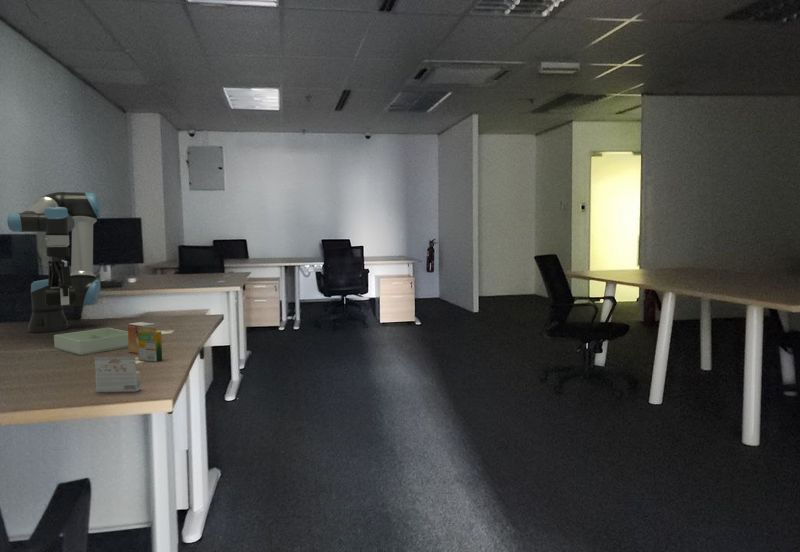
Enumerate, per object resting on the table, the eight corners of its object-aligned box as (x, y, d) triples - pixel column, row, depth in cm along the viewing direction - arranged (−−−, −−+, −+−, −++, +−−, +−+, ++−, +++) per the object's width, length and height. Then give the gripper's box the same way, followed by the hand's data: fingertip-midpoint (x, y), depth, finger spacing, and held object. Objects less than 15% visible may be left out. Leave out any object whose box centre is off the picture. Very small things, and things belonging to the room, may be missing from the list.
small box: (128, 352, 190) (127, 323, 189) (142, 349, 194) (141, 321, 194) (142, 354, 186) (141, 325, 185) (156, 351, 191) (155, 323, 190)
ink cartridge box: (100, 389, 143) (98, 354, 142) (141, 389, 143) (140, 354, 142) (95, 392, 140) (93, 356, 139) (137, 392, 140) (135, 356, 140)
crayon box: (162, 359, 178) (161, 326, 177) (156, 361, 175) (155, 327, 174) (144, 358, 180) (143, 325, 179) (138, 360, 177) (137, 326, 176)
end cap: (46, 306, 200) (45, 289, 200) (44, 305, 206) (43, 288, 205) (76, 304, 206) (75, 287, 206) (74, 303, 212) (73, 286, 211)
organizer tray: (54, 347, 197) (53, 334, 197) (109, 339, 213) (108, 327, 213) (80, 355, 184) (79, 341, 184) (136, 346, 200) (136, 333, 200)
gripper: (36, 246, 208) (39, 303, 209) (58, 246, 195) (60, 306, 197) (57, 246, 214) (60, 301, 215) (79, 246, 201) (82, 304, 203)
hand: (60, 304), depth 206 cm, fingers closed on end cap, 8 cm apart
